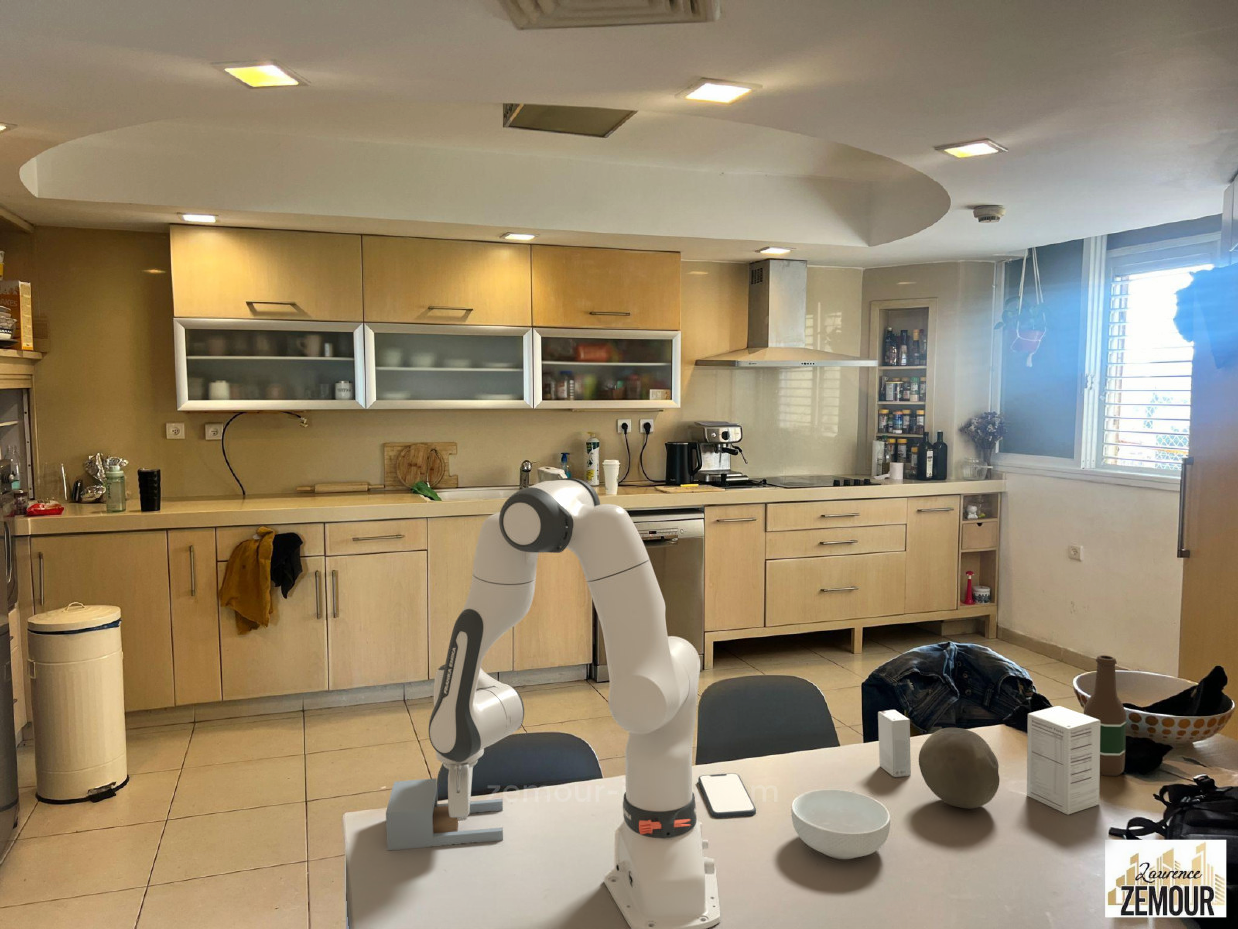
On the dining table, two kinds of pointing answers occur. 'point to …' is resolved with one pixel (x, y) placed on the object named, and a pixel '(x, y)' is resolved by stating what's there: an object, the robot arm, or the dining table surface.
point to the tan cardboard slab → (443, 820)
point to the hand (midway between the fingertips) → (462, 817)
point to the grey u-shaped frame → (429, 818)
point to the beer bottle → (1108, 717)
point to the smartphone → (726, 795)
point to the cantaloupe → (959, 767)
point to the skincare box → (894, 743)
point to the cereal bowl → (840, 822)
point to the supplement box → (1063, 759)
